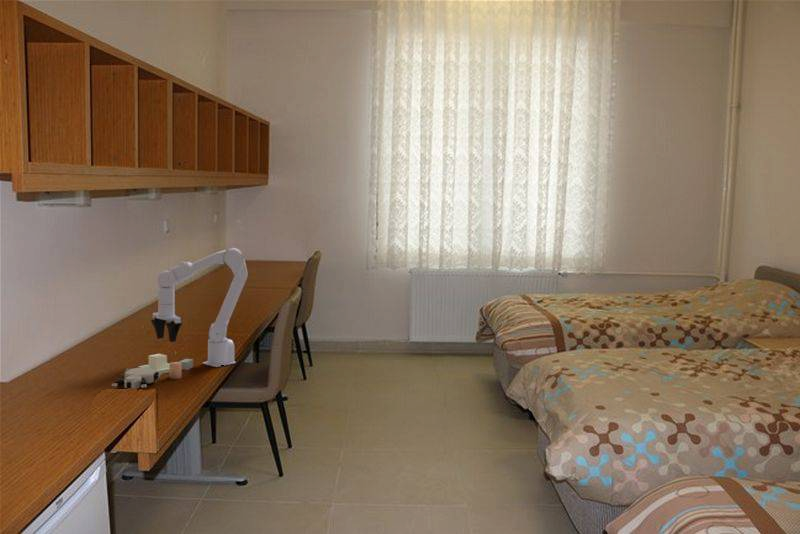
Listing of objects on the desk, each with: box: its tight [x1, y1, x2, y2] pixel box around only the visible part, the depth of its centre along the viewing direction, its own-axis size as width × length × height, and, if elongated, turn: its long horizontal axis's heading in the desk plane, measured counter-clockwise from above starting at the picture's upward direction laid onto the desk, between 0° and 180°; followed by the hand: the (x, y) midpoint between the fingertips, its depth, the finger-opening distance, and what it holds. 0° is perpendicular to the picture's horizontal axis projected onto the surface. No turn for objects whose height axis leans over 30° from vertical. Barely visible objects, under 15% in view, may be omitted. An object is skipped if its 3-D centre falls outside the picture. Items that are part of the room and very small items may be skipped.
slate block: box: [179, 358, 194, 371], centre depth 259 cm, size 5×3×3 cm, turn 169°
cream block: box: [148, 353, 168, 370], centre depth 254 cm, size 4×4×5 cm
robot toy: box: [111, 367, 163, 390], centre depth 234 cm, size 12×4×15 cm
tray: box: [137, 362, 170, 375], centre depth 254 cm, size 10×10×1 cm
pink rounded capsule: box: [168, 361, 183, 380], centre depth 246 cm, size 4×4×5 cm
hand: (166, 339), depth 262 cm, fingers open, 7 cm apart
